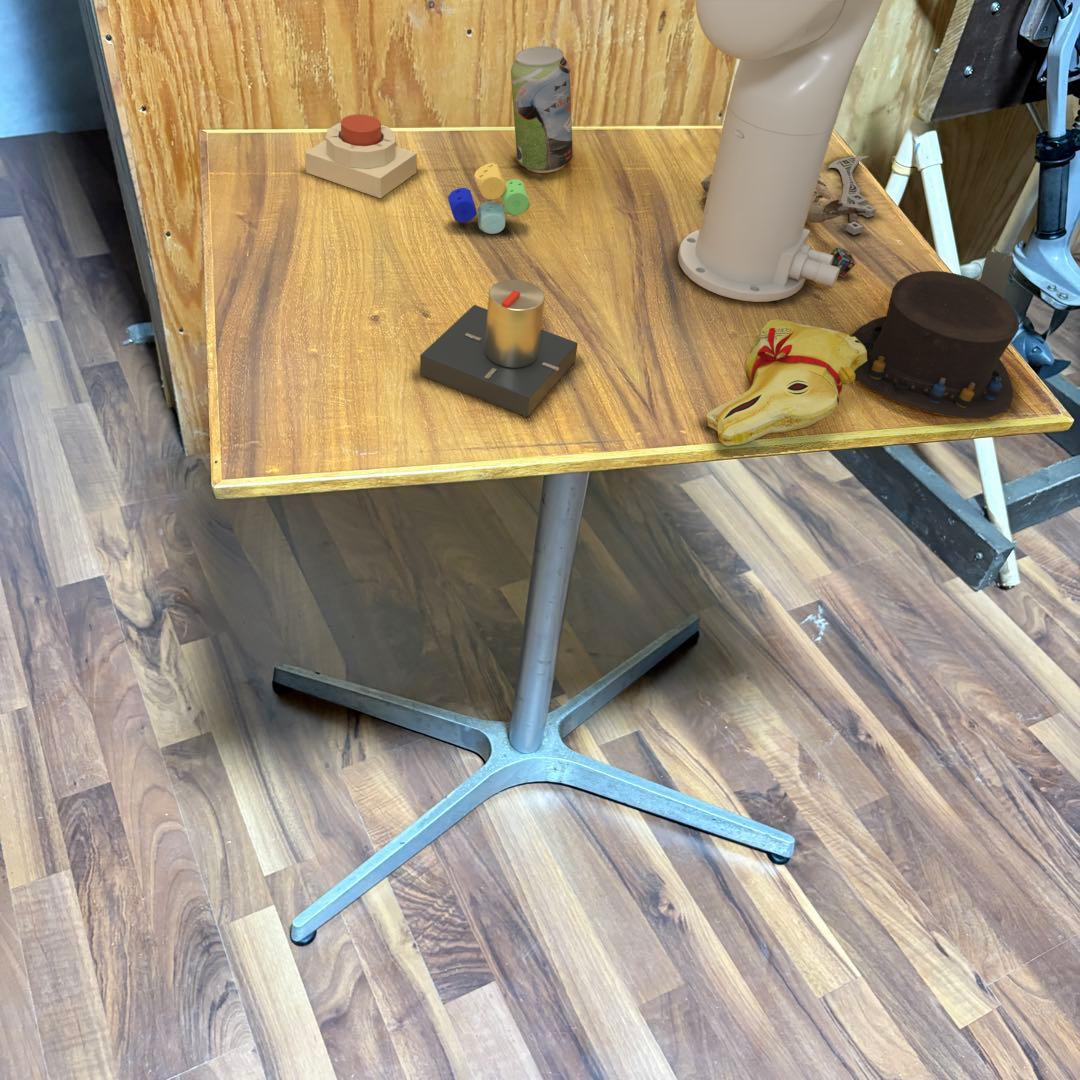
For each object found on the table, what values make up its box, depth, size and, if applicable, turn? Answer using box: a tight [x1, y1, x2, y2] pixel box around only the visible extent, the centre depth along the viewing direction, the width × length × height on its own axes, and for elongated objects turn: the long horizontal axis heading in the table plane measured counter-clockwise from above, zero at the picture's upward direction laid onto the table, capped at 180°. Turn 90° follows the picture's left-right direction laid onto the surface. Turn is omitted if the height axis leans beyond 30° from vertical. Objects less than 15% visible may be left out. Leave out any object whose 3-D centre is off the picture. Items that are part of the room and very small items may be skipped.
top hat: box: [851, 250, 1020, 419], centre depth 91 cm, size 15×15×10 cm
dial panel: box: [419, 304, 578, 418], centre depth 89 cm, size 10×9×2 cm
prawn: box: [805, 175, 866, 278], centre depth 111 cm, size 25×12×7 cm, turn 12°
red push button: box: [340, 113, 382, 146], centre depth 108 cm, size 4×4×2 cm
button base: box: [304, 122, 418, 199], centre depth 110 cm, size 9×7×4 cm
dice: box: [447, 162, 531, 235], centre depth 103 cm, size 8×3×6 cm, turn 100°
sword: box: [827, 155, 877, 236], centre depth 119 cm, size 20×1×5 cm
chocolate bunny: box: [706, 318, 867, 447], centre depth 86 cm, size 7×11×15 cm
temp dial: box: [485, 279, 546, 368], centre depth 86 cm, size 4×4×6 cm
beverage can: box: [510, 45, 574, 174], centre depth 112 cm, size 6×7×12 cm
